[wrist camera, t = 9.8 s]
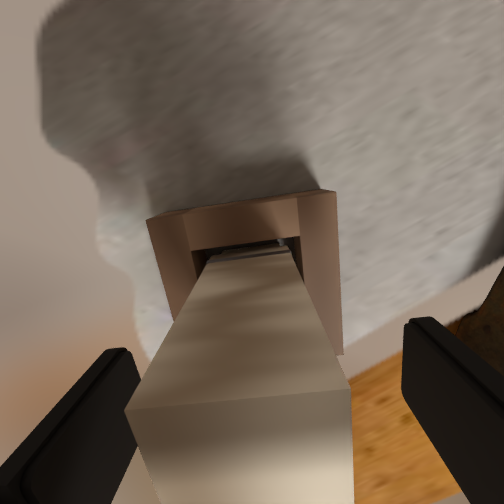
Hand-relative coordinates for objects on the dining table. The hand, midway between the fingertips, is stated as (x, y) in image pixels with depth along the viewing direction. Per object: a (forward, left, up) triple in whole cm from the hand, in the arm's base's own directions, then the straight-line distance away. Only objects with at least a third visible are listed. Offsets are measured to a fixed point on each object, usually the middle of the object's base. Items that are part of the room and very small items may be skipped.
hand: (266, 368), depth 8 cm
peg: (0, 0, -9) cm, 9 cm away
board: (+1, 0, -9) cm, 9 cm away
